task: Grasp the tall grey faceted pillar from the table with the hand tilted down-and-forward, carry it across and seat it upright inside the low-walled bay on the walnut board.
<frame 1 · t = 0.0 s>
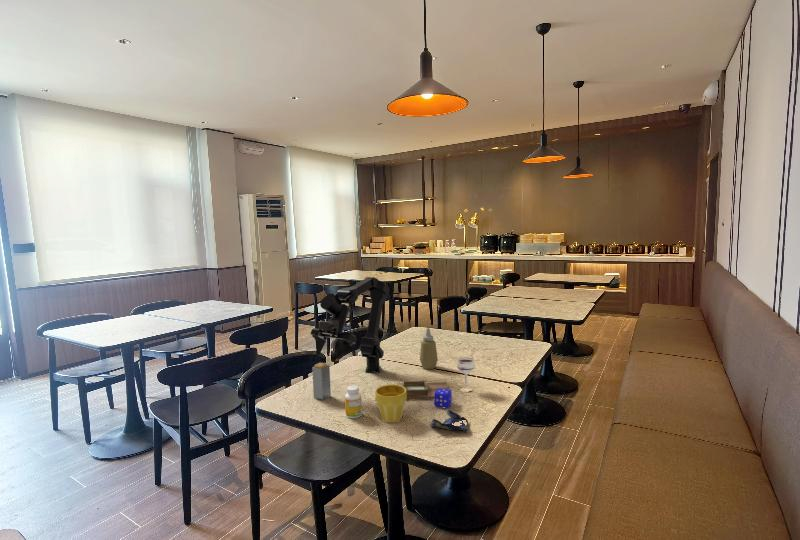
hand: (326, 357, 159), 15 cm above the table, tool tilted 35°, fingers open, 9 cm apart
die: (443, 405, 149), on the table
supplement bottle: (353, 415, 143), on the table
grey faceted pillar: (322, 397, 159), on the table
wineglass: (466, 390, 162), on the table
plant pot: (391, 419, 140), on the table
squeeze bottle: (428, 368, 189), on the table
chassis board: (422, 391, 161), on the table
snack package: (451, 428, 132), on the table
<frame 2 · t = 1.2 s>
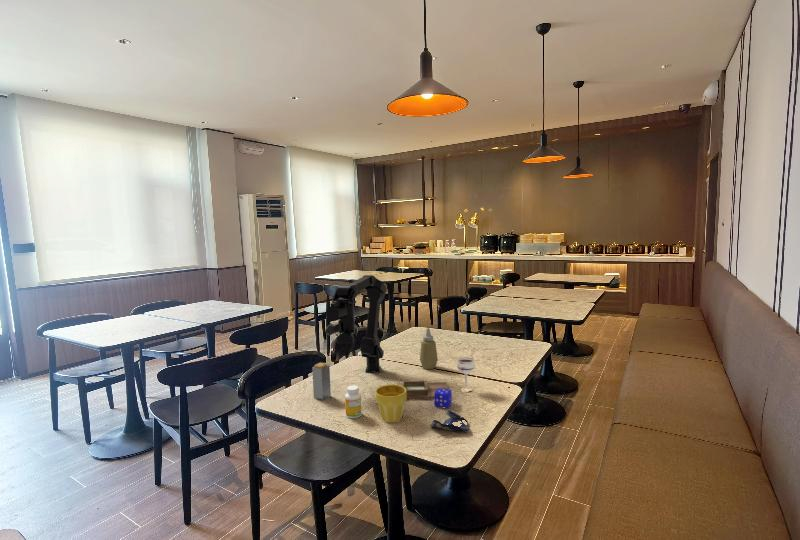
hand: (348, 354, 168), 13 cm above the table, tool pointing down, fingers open, 9 cm apart
nothing on the table moved.
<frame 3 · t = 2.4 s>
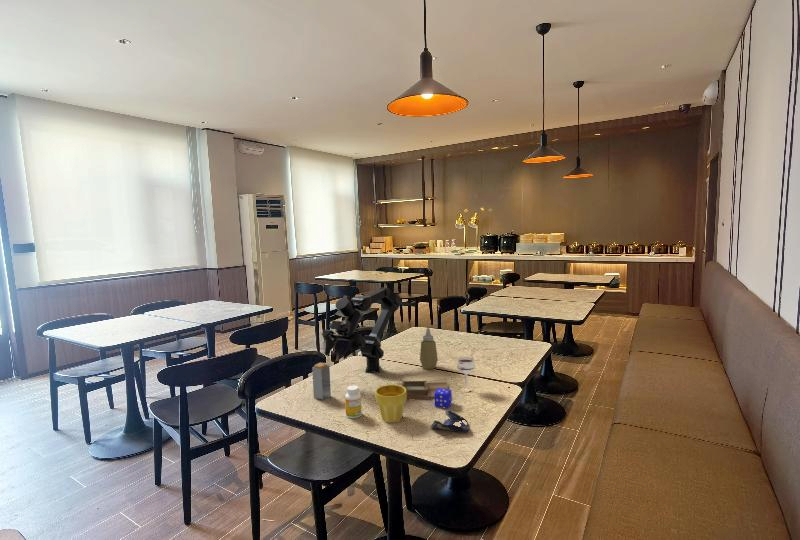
hand: (334, 356, 164), 13 cm above the table, tool tilted 45°, fingers open, 9 cm apart
nothing on the table moved.
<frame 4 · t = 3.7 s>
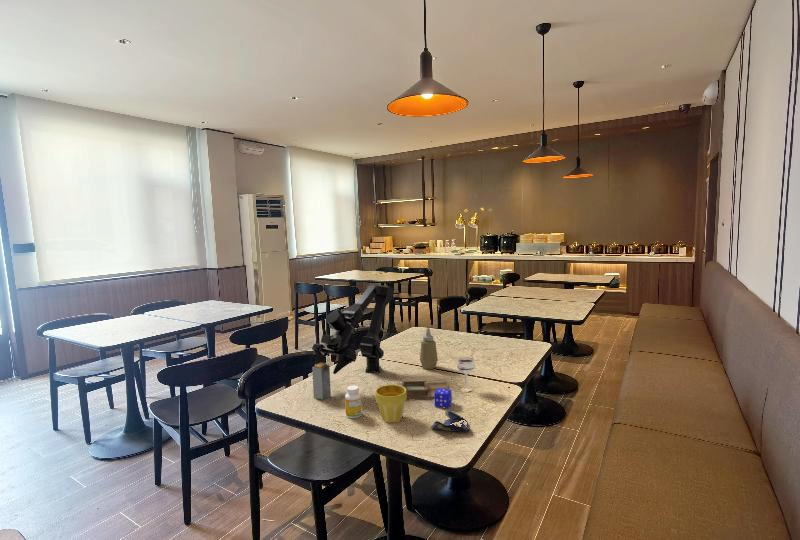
hand: (324, 371, 160), 9 cm above the table, tool tilted 45°, fingers open, 9 cm apart
nothing on the table moved.
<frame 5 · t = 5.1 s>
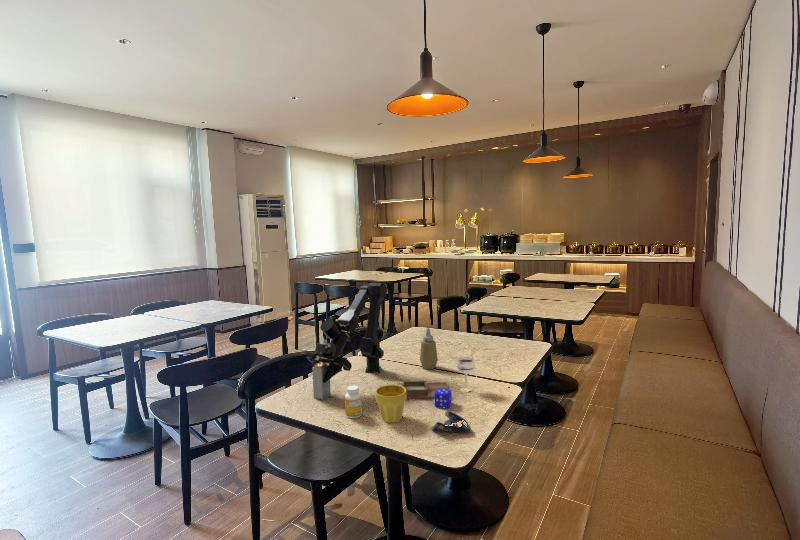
hand: (319, 381, 157), 7 cm above the table, tool tilted 45°, fingers closed on grey faceted pillar, 4 cm apart
grey faceted pillar: (322, 397, 159), on the table, touching gripper
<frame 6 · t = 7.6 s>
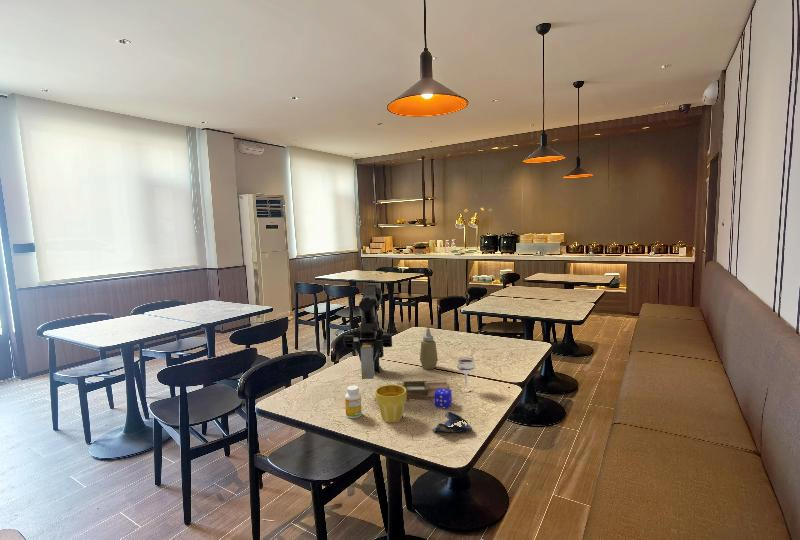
hand: (367, 361, 158), 13 cm above the table, tool tilted 45°, fingers closed on grey faceted pillar, 4 cm apart
grey faceted pillar: (368, 376, 160), point 7 cm above the table, touching gripper
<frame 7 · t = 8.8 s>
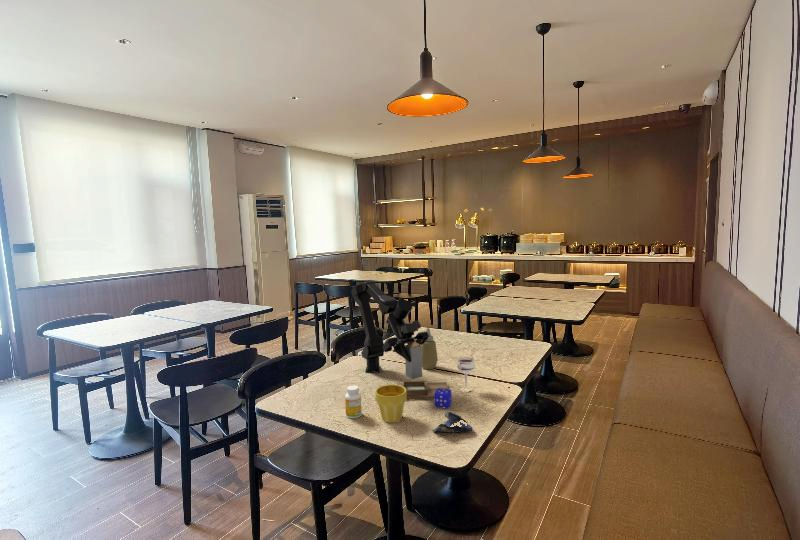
hand: (415, 360, 158), 13 cm above the table, tool tilted 45°, fingers closed on grey faceted pillar, 4 cm apart
grey faceted pillar: (413, 376, 160), point 7 cm above the table, touching gripper
when the fingers open (9 cm above the table, at t = 10.0 s): grey faceted pillar drops 1 cm, resting on chassis board.
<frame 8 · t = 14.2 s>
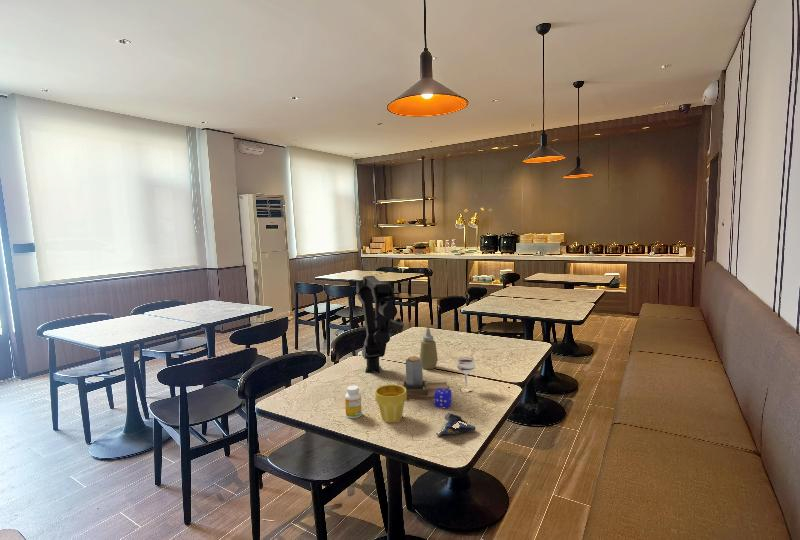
hand: (383, 352, 170), 13 cm above the table, tool pointing down, fingers open, 9 cm apart
grey faceted pillar: (414, 390, 160), point 1 cm above the table, touching chassis board
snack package: (455, 432, 130), on the table
everything else where it was.
at the end: grey faceted pillar 0.1 cm from the target spot on the chassis board, point 1.1 cm above the chassis board's base; grey faceted pillar tilted 0°; the gripper is holding nothing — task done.
